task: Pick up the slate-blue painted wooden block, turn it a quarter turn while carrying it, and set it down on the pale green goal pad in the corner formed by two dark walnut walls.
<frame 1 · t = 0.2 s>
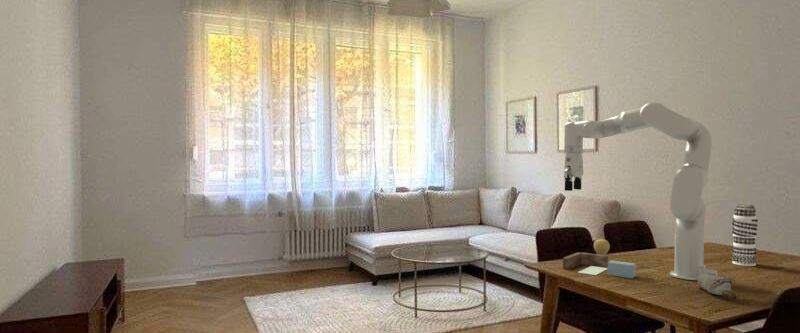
hand: (573, 190, 221), 31 cm above the table, tool pointing down, fingers open, 9 cm apart
wall side: (591, 264, 213), on the table
decorative candle: (744, 264, 216), on the table
wall far: (572, 266, 211), on the table
light bulb: (601, 262, 219), on the table
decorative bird: (715, 296, 168), on the table
goal pad: (593, 270, 203), on the table
block: (621, 275, 195), on the table
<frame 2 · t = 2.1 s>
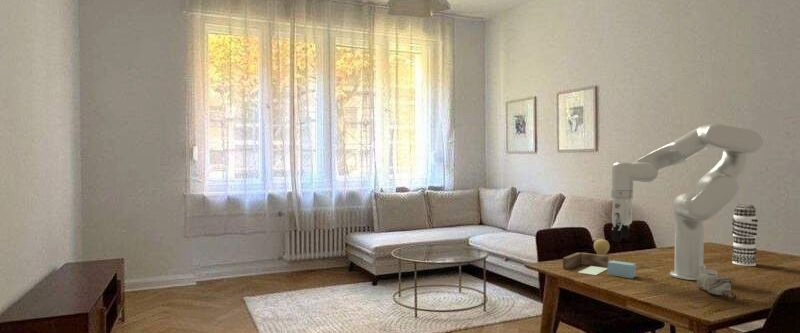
hand: (620, 239, 195), 14 cm above the table, tool pointing down, fingers open, 9 cm apart
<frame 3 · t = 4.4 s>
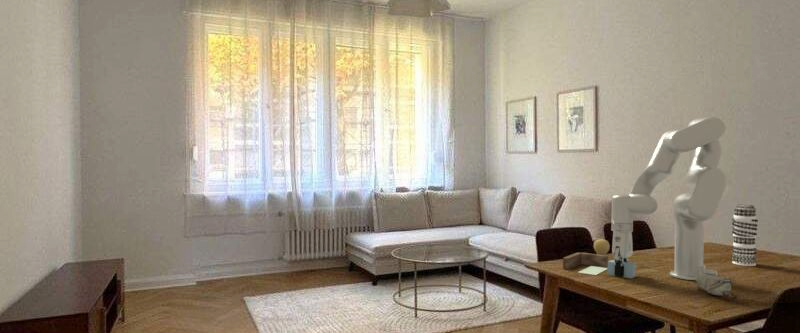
hand: (621, 274, 195), 0 cm above the table, tool pointing down, fingers closed on block, 4 cm apart
block: (621, 275, 195), on the table, touching gripper
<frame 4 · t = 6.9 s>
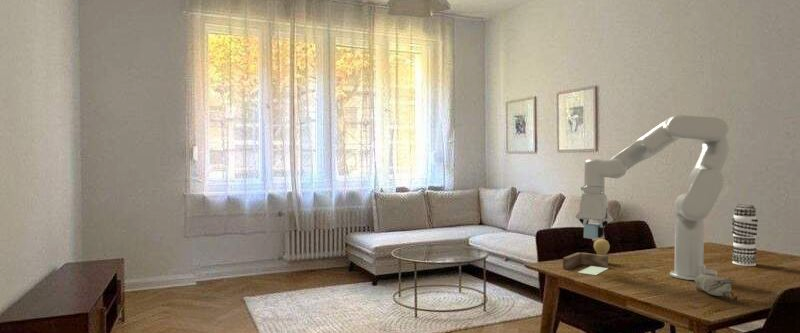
hand: (593, 235, 203), 14 cm above the table, tool pointing down, fingers closed on block, 4 cm apart
block: (593, 237, 203), point 13 cm above the table, touching gripper
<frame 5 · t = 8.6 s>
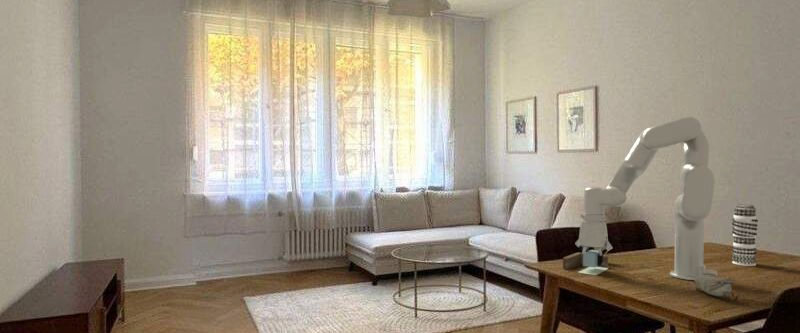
hand: (593, 263, 203), 3 cm above the table, tool pointing down, fingers closed on block, 4 cm apart
block: (593, 264, 203), point 2 cm above the table, touching gripper
when the fingers open (1 cm above the table, at t = 9.8 s): block stays where it is, resting on goal pad.
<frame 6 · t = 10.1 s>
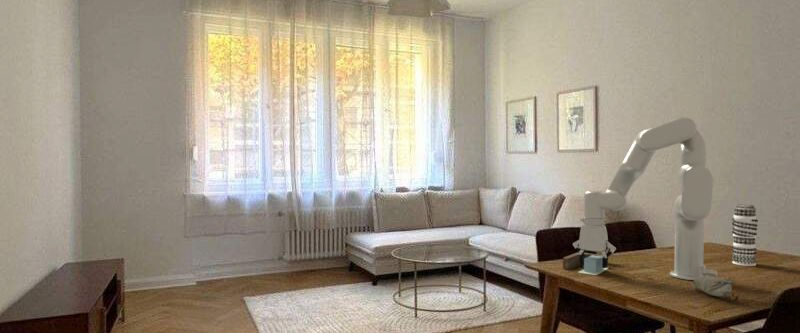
hand: (593, 265, 203), 2 cm above the table, tool pointing down, fingers open, 8 cm apart
block: (593, 270, 203), resting on goal pad
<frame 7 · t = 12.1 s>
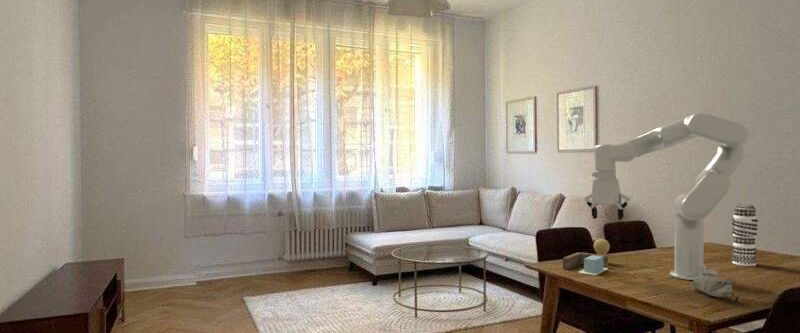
hand: (607, 218, 202), 21 cm above the table, tool pointing down, fingers open, 9 cm apart
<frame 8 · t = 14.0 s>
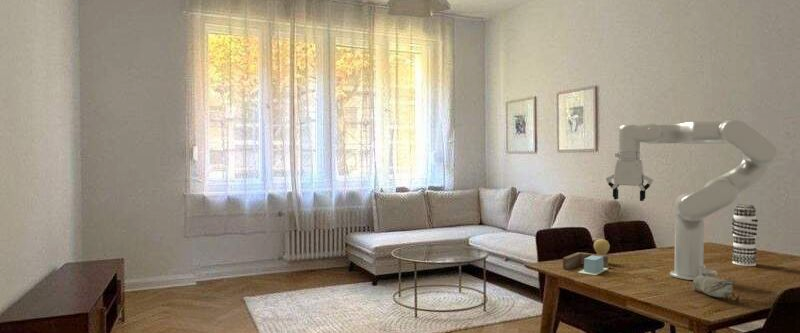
hand: (628, 200, 200), 28 cm above the table, tool pointing down, fingers open, 9 cm apart
at the end: block inside the target area (0.1 cm from its centre), resting on goal pad; block tilted 0°; the gripper is holding nothing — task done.
